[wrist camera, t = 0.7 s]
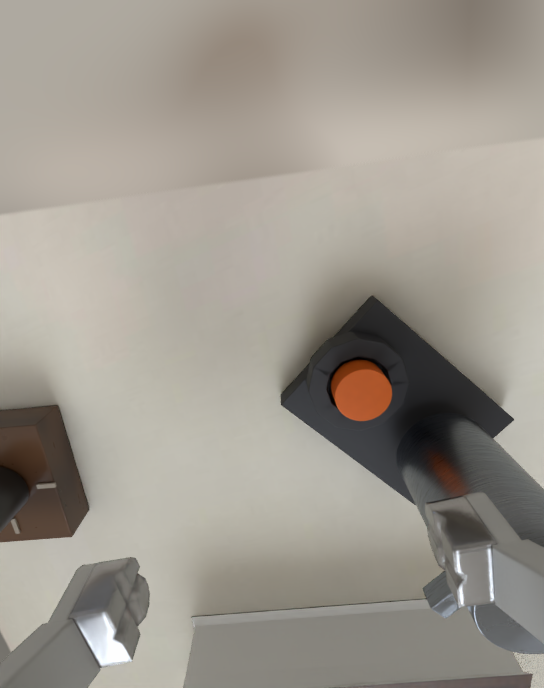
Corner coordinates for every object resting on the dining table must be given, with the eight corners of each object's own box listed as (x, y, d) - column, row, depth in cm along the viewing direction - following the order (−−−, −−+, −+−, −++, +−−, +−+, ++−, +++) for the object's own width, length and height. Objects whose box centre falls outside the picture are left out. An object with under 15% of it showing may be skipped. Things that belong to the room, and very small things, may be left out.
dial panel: (-44, 413, 30) (-79, 435, 27) (59, 404, 30) (35, 426, 27) (-3, 516, 33) (-30, 546, 30) (91, 509, 33) (72, 538, 30)
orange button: (319, 387, 26) (323, 399, 24) (356, 348, 25) (362, 358, 23) (358, 417, 26) (364, 431, 25) (395, 381, 26) (404, 392, 24)
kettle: (358, 475, 27) (423, 672, 16) (444, 394, 25) (594, 549, 14) (431, 529, 29) (541, 746, 17) (518, 457, 27) (711, 645, 15)
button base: (272, 388, 29) (272, 411, 26) (363, 288, 27) (376, 298, 23) (408, 491, 32) (424, 522, 29) (501, 408, 30) (530, 433, 26)
